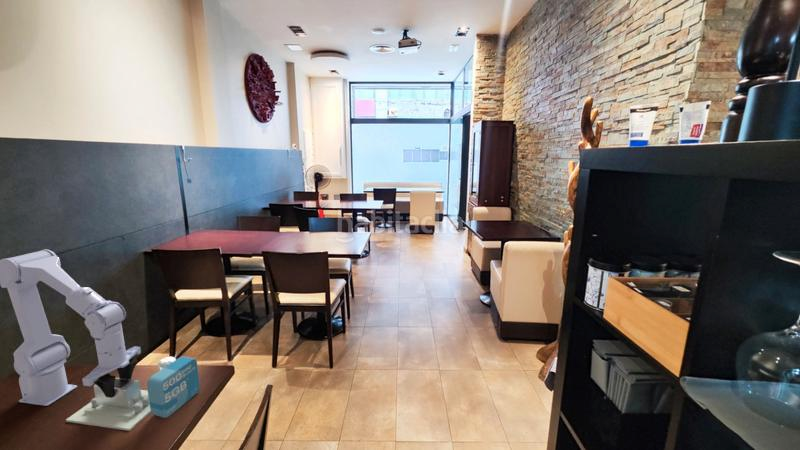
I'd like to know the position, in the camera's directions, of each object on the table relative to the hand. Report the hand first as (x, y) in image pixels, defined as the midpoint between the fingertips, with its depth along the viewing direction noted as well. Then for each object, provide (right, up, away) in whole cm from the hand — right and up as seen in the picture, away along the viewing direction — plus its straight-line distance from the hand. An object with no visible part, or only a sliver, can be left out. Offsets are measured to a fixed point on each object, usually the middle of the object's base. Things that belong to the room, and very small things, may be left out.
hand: (118, 390), depth 91 cm
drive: (0, -4, +1) cm, 4 cm away
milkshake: (+7, -4, +11) cm, 14 cm away
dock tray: (0, -6, +1) cm, 6 cm away
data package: (+14, -6, +4) cm, 16 cm away
